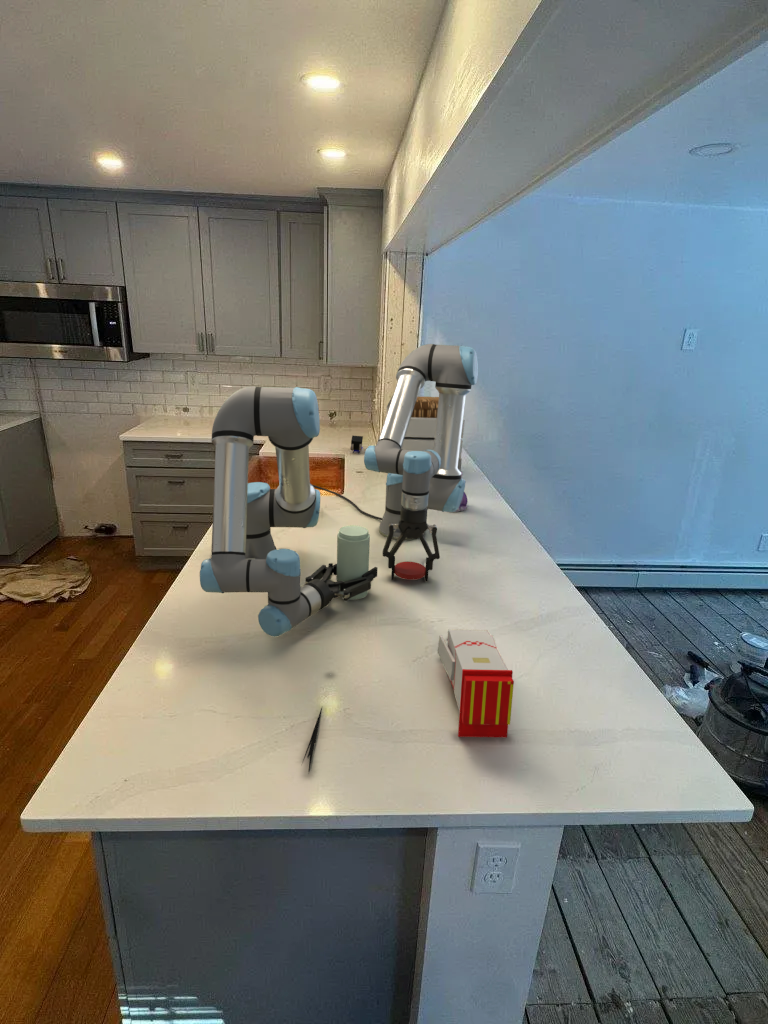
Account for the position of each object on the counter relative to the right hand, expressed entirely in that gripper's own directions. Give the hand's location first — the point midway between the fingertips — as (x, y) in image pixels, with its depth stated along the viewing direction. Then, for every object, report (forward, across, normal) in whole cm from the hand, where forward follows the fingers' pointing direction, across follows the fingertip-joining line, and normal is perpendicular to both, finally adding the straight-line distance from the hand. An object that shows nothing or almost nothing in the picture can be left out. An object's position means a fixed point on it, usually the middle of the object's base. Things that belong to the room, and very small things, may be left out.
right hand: (409, 578), depth 167 cm
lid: (-3, 0, 0) cm, 3 cm away
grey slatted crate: (-1, +10, +115) cm, 115 cm away
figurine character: (-1, -23, +153) cm, 155 cm away
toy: (0, +11, -52) cm, 53 cm away
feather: (+1, -20, -62) cm, 65 cm away
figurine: (0, +22, +65) cm, 68 cm away
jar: (0, -16, -10) cm, 19 cm away
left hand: (-6, -14, -6) cm, 16 cm away
